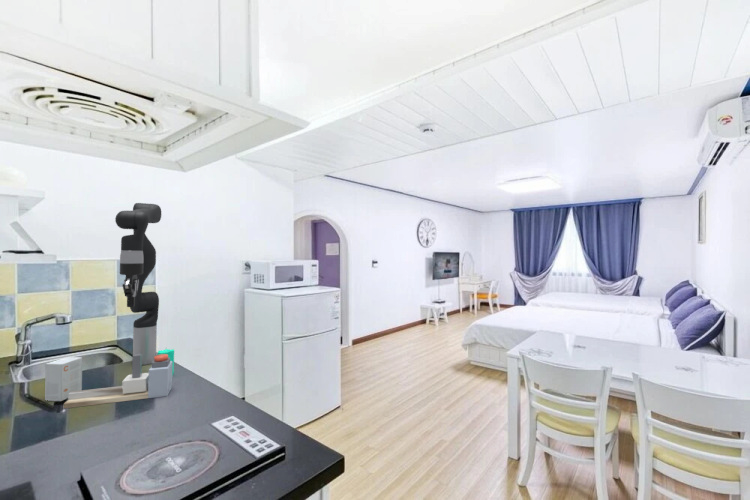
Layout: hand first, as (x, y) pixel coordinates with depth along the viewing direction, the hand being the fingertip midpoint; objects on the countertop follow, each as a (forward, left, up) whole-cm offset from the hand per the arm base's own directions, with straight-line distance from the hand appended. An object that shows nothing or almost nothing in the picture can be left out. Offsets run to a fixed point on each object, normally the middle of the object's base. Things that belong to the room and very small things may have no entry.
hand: (130, 306), depth 133 cm
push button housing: (+11, +13, -31) cm, 35 cm away
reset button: (+11, +13, -21) cm, 26 cm away
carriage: (+11, +5, -29) cm, 31 cm away
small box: (+3, -19, -31) cm, 37 cm away
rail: (+11, -2, -31) cm, 33 cm away
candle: (-9, +11, -31) cm, 34 cm away
